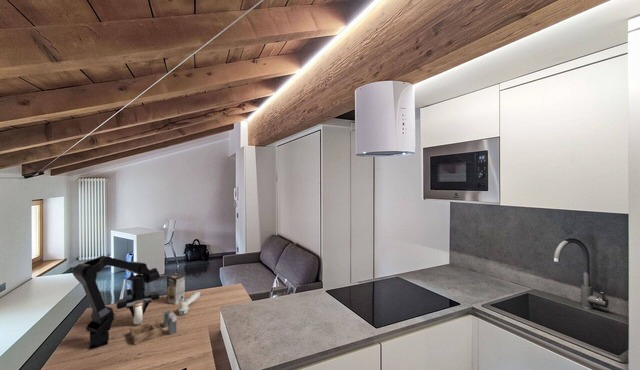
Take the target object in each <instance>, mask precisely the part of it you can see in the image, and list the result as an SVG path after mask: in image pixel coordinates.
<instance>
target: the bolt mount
mask: <svg viewBox="0 0 640 370" xmlns="http://www.w3.org/2000/svg"><path fill="white" fill-rule="evenodd" d="M169 313H172V311H170V310H167V311H163V313H162V315H163V316H162V317H163V318H162V321H163V323H162V325H163V328H167V329H168V330H167V333H168V335H169V336H171V335H173V334H177V321H174V322H172V321H171V320H170V318H169Z"/></svg>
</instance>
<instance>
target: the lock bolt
mask: <svg viewBox="0 0 640 370" xmlns="http://www.w3.org/2000/svg"><path fill="white" fill-rule="evenodd" d="M169 318H170V320H171V321H172V322H174V321H176V322H177V320H178V319H177V318H178V316H177V315H176V314H175V312H173V311H171V313H169Z"/></svg>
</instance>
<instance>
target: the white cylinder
mask: <svg viewBox="0 0 640 370" xmlns="http://www.w3.org/2000/svg"><path fill="white" fill-rule="evenodd" d="M133 309H134V317H133V325H141V324H142V323H143V321H144V317H143V301H138V302H134V303H133Z"/></svg>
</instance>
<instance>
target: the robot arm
mask: <svg viewBox="0 0 640 370" xmlns="http://www.w3.org/2000/svg"><path fill="white" fill-rule="evenodd" d="M107 266H109V267H114V268H119V269H124V270H126V271H127V272H129V273H132V274H131V275H130V276H129V277H128V278H127V280H128V281H131V288H129V289H126V290H125V291H126V292H125V295H126V297H127V296H130V299H127V300H126V298H121V299H117V300H116V301H115V306H116V309H117V310H120V309H125V308H126V309H129V311H130V313H131V316H132V318H134V303H137V302H143V315H145V312H146V310H147V308H148V307H149V305H150V303H152V301H157V300H159V299H160V294H159V292H158V291H157V290H156V291H151V292H149V293H148V295H146V294H145V293H146V284H150V283H153V282H155V281H158V280H159V279H160V277H161V275H160V273H159V271H158V268H156V267H153V268H151V269H149V268H148V266H147V263H145V262H141V261H127V260H121V259H120V258H119V259H118V258H114V257H111V256H108V255H100V256H98V257H96V258H93V259H91V260H87V261H84V262H83V263H79V264H77V265H75V266H74V267H73V269H72V270H71V271H72V275H73V276H74V278H75V279H76V280H77V281H78V282H79V283H80V284H81V285H82V287H83V290H84V292H85V296H86V297H87V300H88V302H89V305H90V308H91V311H92V312H91V320H90V321H89V322H88V324H87V325H86V327H85V329H86V331H87V332H89V342H88V345H89V350H93V349H96V348H99V347H103V346H106V345H108V344H109V341H110V330H111V327H112V324H113V322H114V320H115V316H116V314H115V313H114V310H113V308H112V307H109V306H107V305H105V301H104V300H103V296H102V294H101V292H100V289H99V287H98V284H97V281H96V280H97V278H98V273H99V272H100V271H102V270H103V269H104V268H105V267H107Z"/></svg>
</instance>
